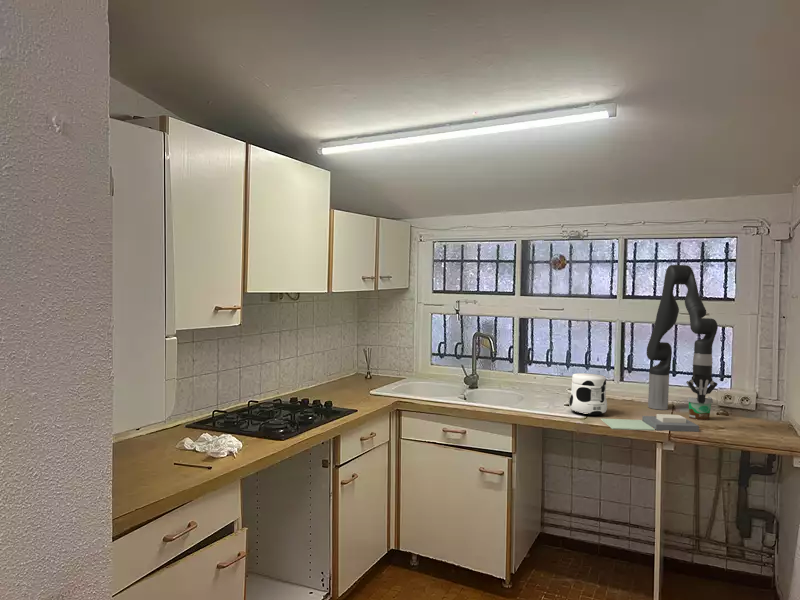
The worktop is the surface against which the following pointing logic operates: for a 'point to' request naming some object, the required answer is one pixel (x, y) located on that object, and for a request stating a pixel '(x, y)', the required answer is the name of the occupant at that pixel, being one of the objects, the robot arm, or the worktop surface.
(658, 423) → the platform
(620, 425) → the mat
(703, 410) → the food container
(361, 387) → the worktop surface
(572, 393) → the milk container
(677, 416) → the cream flat block
